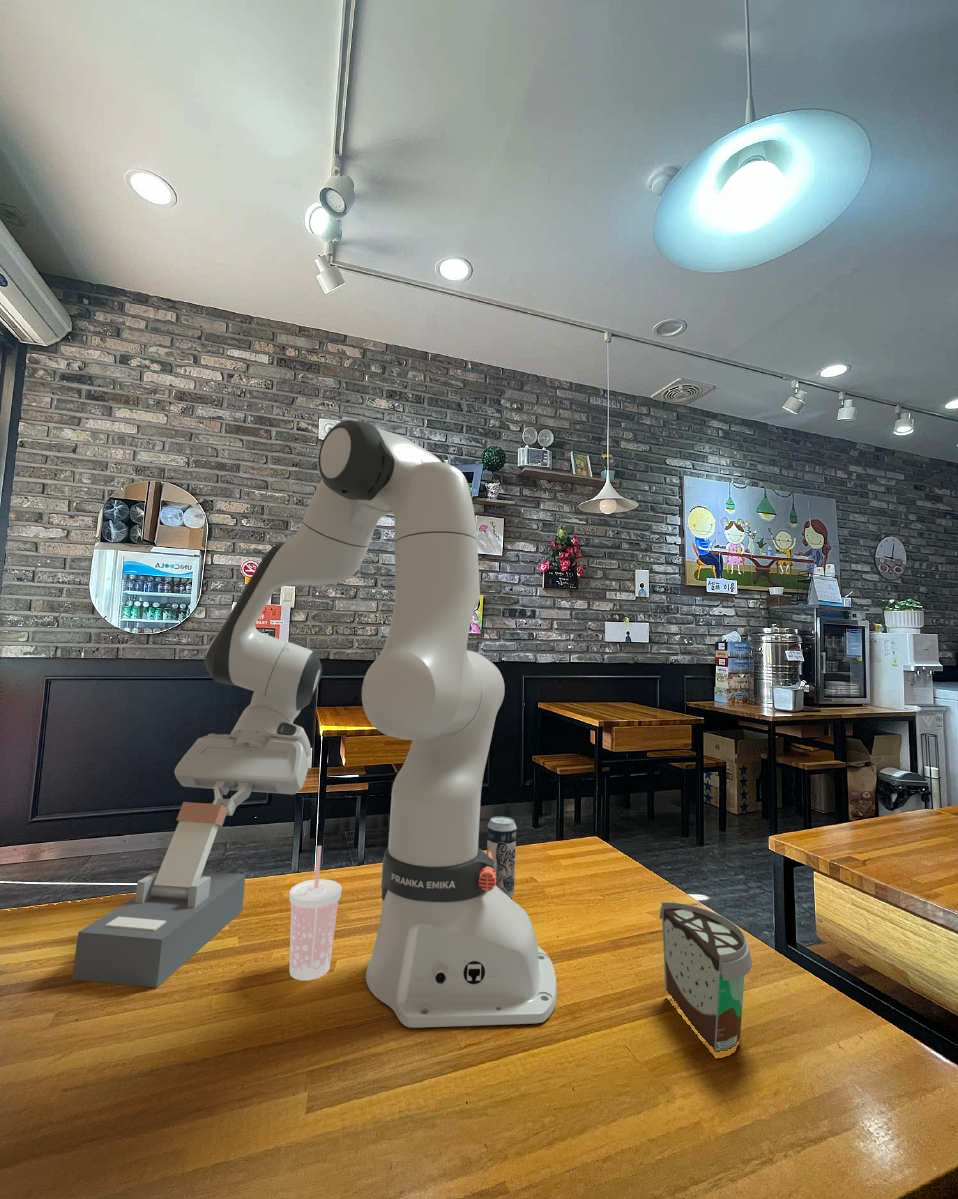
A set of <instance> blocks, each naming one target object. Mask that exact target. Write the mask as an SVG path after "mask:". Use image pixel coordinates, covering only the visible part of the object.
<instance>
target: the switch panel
mask: <svg viewBox="0 0 958 1199" xmlns="http://www.w3.org/2000/svg"><path fill="white" fill-rule="evenodd" d="M158 873H159V872H155V871H154V872H152V873H150V874H148V875H146V876H145V877H143V878H142V879H140V880H138V881H137V883H136V892H135V896H134V897H132V898H131V899H130V900H128V901H127V902H125V903H123V904H122V905H120V906H119V907H117V908H115V909H113V910H112V911H110V912H108V913H106V914H105V915H104V916H102V917H100V918H99V919H97V920H95V921H94V922H92V923H91V924H89V925H87V926H86V927H84V928H82V929H81V930H79V931H78V932H77V937H76V938H77V939H76V946H75V955H74V956H75V957H74V962H73V970H72V971H73V972H72V976H71V980H75V981H84V982H94V983H104V984H114V985H124V986H133V987H134V986H135V987H141V988H142V987H143V988H144V987H145V988H153V989H154V988H155V989H157V988H158V987H160V986H161V985H162V984H163V983H164V982H165V981H166V980H167V979H168V978H170V976H172V975H173V974H174V973H175V972H176V971H177V970H179V969H180V968H181V967H182V966H183V965H185V963H186V962H188V960H190V959H191V958H192V957H193V956H194V955H195V954H196V953H197V952H198V951H199V950H201V949H202V948H203V947H204V946H206V944H207V943H209V941H211V940H212V939H213V938H214V937H216V935H217V934H218V933H220V932H221V931H222V930H223V929H224V928H225V927H227V926H228V925H229V924H230V923H231V922H232V921H233V920H234V919H235V918H237V916H239V915H240V914H241V913H243V907H244V906H243V905H244V904H243V903H244V896H245V895H244V894H245V884H246V874H241V873H240V874H239V873H230V872H229V873H228V872H217V871H215V872H214V871H206V870H205V871H204V870H203V872H202V875H201V878H200V879H199V880H198V881H196V882H195V883H193V884H192V885H190V887H189V896H188V899H181V898H169V897H157V896H151V889H152V887H153V886H154V883H155V880H156V878H157V875H158Z"/></svg>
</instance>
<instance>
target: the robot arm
mask: <svg viewBox="0 0 958 1199" xmlns="http://www.w3.org/2000/svg"><path fill="white" fill-rule="evenodd" d="M318 469H319V470H318V471H319V474H320V477H321V480H320V481H319V483H318V484H317V485H318V486H317V487H316V488H315V491H314V492H313V495H312V497H311V499H310V502H309V503H308V505H307V508H306V510H305V513H304V516H303V519H302V521H301V524H300V526H299V528H298V529H297V531H296V532H295V534H294V535H293V536H292V537H291V538H290V539H289V540H288V541H286V542H282V543H276V544H274V545H273V546H272V547H271V548H270V549H269V550H268V551H267V552H266V554H265V555H264V556H263V557H262V558H261V561H260V562H259V564H258V566H257V567H256V568H255V569H254V572H253V574H252V575H251V577H250V578H249V580H248V583H246V585H245V587H244V588H243V591H241V594H240V596H239V597H238V599H237V601H236V603H235V605H234V607H233V608H232V610H231V612H230V613H229V615H228V617H227V619H226V621H225V622H224V624H223V626H222V627H221V629H220V630H219V631H218V633H217V634H216V635H215V636H214V637H213V639H212V641H211V642H210V644H209V645H208V648H207V650H206V653H205V657H204V660H203V662H204V665H205V667H206V669H207V670H206V671H208V673H209V675H210V676H211V678H212V679H213V681H215V682H217V683H221V684H226V685H230V686H234V687H240V688H242V689H245V690H249V691H253V694H252V696H251V701H250V704H248V706H247V707H245V709H244V710H243V711H242V713H241V715H240V716H239V718H238V720H237V722H236V723H235V726H234V727H233V729H232V731H231V732H230V734H224V733H223V734H217V733H208V734H207V735H204V736H201V737H199V738H197V739H196V740H195V742H194V743H193V744H192V746H191V747H190V748H189V749H188V750H187V752H186V753H185V754H184V755H183V757H182V758H181V759H180V760H179V761H178V763H177V765H176V766H175V768H174V775H175V779H176V780H177V781H178V783H179V784H180V785H181V786H182V787H185V788H199V789H200V788H201V789H212V790H213V792H214V799H213V802H212V804H220V805H223V806H224V807H226V808H227V809H228V811H227V814H226V816H230V817H231V816H233V814H234V813H235V811H236V809H237V807H239V805H241V804H242V803H243V802H245V801H246V800H247V799H249V798H250V795H251V794H252V792H255V793H256V792H257V793H268V794H283V795H295V794H297V793H298V792H300V791H301V790H302V789H303V786H304V785H305V781H306V778H307V774H308V771H309V766H310V765H309V763H310V762H309V760H308V758H309V757H310V756H311V753H312V749H311V748H312V747H311V743H310V740H309V738H308V735H307V734H306V731H305V729H304V727H302V726H300V725H297V724H294V721H295V719H296V718H297V717H298V716H299V715H300V713H301V710H303V709H305V707H307V706H308V705H310V703H311V701H312V698H313V695H314V694H315V691H316V689H317V688H318V686H319V683H320V680H321V678H322V676H323V675H322V674H323V666H322V663H321V661H320V658H319V656H318V654H317V653H316V652H315V651H314V650H311V649H309V648H307V647H304V646H301V645H299V644H295V643H293V642H290V641H286V640H283V639H280V638H278V637H275V636H271V635H269V634H266V633H263V632H261V631H259V630H258V629H257V628H256V623H257V622H258V620H259V618H260V616H261V614H262V613H263V611H264V610H265V608H266V606H267V604H268V603H269V600H270V599H271V597H272V596H273V594H274V592H275V591H276V590H278V589H280V588H283V587H289V586H329V585H330V586H331V585H335V584H338V583H341V582H344V581H345V580H348V579H349V578H351V577H352V576H354V575H355V574H356V573H357V572H358V570H359V568H360V566H361V564H362V563H363V560H364V558H365V556H366V554H367V552H368V550H369V547H370V545H371V541H372V538H373V536H374V532H375V529H376V526H377V524H378V522H379V521H380V520H381V519H382V518H383V517H384V516H387V515H388V514H389V515H390V514H391V515H393V518H394V580H395V581H394V592H395V593H394V604H393V611H392V616H391V622H390V626H389V629H388V632H387V636H386V640H385V643H384V646H383V648H382V650H381V652H380V654H379V655H378V656H377V658H376V659H374V661H373V663H371V665H370V666H369V668H368V669H367V671H366V674H365V675H364V678H363V681H362V686H361V702H362V707H363V711H364V713H365V716H366V717H367V719H368V721H369V723H370V724H371V725H372V726H373V727H374V729H376V730H377V731H379V732H380V733H382V734H384V735H386V736H388V737H391V738H396V739H401V740H407V741H411V744H410V747H409V750H408V753H407V756H406V759H404V760H405V761H404V763H403V765H402V766H401V769H400V770H399V771H398V773H397V774H396V776H395V778H394V782H393V783H392V788H391V789H392V790H391V801H390V802H391V803H390V813H389V814H390V816H389V830H388V831H389V832H388V846H387V848H386V849H385V850H384V855H383V859H382V867H381V880H380V883H381V884H380V889H381V900H382V907H381V912H380V919H379V923H378V924H379V925H378V929H377V934H376V938H375V942H374V946H373V950H372V953H371V957H370V960H369V963H368V966H367V969H366V970H365V971H366V972H365V980H366V985H367V987H368V989H369V991H370V992H371V993H372V994H373V996H374V997H376V999H378V1000H380V1001H381V1002H382V1003H383V1004H385V1005H387V1006H388V1007H389V1008H390V1009H392V1010H393V1011H394V1013H395V1015H396V1018H397V1019H398V1021H399V1022H400V1023H401V1024H402V1025H403V1026H405V1027H407V1028H414V1029H416V1028H417V1029H418V1028H440V1027H441V1028H442V1027H443V1028H445V1027H448V1028H449V1027H470V1026H471V1027H472V1026H497V1025H500V1026H502V1025H521V1024H522V1025H527V1024H539V1023H540V1024H541V1023H544V1022H546V1020H547V1019H548V1018H550V1017H551V1015H552V1013H553V1011H554V1009H555V1006H556V1003H557V995H558V991H557V989H558V988H557V977H556V971H555V967H554V964H553V962H552V960H551V958H550V956H549V955H548V954H547V953H546V951H545V950H543V948H541V946H539V945H538V942H537V937H536V932H535V930H534V926H533V924H532V920H531V918H530V916H529V915H528V913H527V912H526V911H525V909H524V908H522V906H520V905H519V904H518V903H517V902H516V901H514V899H511V898H509V897H508V896H507V895H506V894H505V893H504V892H503V891H502V890H500V889H499V888H498V887H497V886H496V877H497V875H496V872H495V870H494V861H493V860H492V854H491V852H490V851H489V855H487V853H486V852H484V851H483V850H482V849H481V848H480V847H479V835H480V817H481V816H480V815H481V814H480V813H481V800H482V799H481V798H482V788H483V781H484V774H485V769H486V765H487V761H488V757H489V756H488V755H489V751H490V746H491V742H492V737H493V731H494V728H495V722H496V717H497V715H498V712H499V710H500V708H501V707H502V704H503V701H504V698H505V694H506V693H505V688H506V687H505V682H504V680H505V679H504V678H503V676H502V675H503V674H502V673H501V671H500V670H499V668H498V667H497V666H496V665H495V664H494V663H493V662H492V661H491V660H489V659H487V657H485V656H484V655H482V654H480V653H478V652H476V651H474V650H473V651H472V650H468V640H469V634H470V628H471V623H472V619H473V615H474V612H475V610H476V608H477V607H478V605H479V603H480V600H481V588H480V587H481V586H480V585H481V584H480V570H479V569H480V567H479V566H480V564H479V552H478V551H479V549H478V533H477V523H476V516H475V515H476V514H475V509H474V504H473V499H472V495H471V491H470V487H469V484H468V483H469V482H468V480H467V479H466V476H465V475H464V474H463V472H462V471H461V470H460V469H458V468H457V467H456V466H454V465H452V464H450V463H449V462H448V461H447V460H445V459H444V458H442V457H441V456H440V455H438V454H436V453H431V452H430V451H428V450H427V449H426V448H424V447H422V446H420V445H418V444H416V443H414V442H412V441H411V440H410V439H408V438H406V437H404V436H402V435H399V434H397V433H394V432H391V431H389V430H385V429H382V428H378V427H375V425H373V424H371V423H369V422H365V421H361V420H352V419H350V420H349V419H346V420H341V421H340V422H338V423H336V424H335V425H334V426H333V427H332V428H331V429H330V430H329V431H328V432H327V434H326V435H325V436H324V438H323V441H321V445H320V448H319V453H318ZM230 791H236V793H234V794H233V795H232V796H231V797H230V798H224V796H227V795H228V793H229V792H230Z"/></svg>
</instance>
